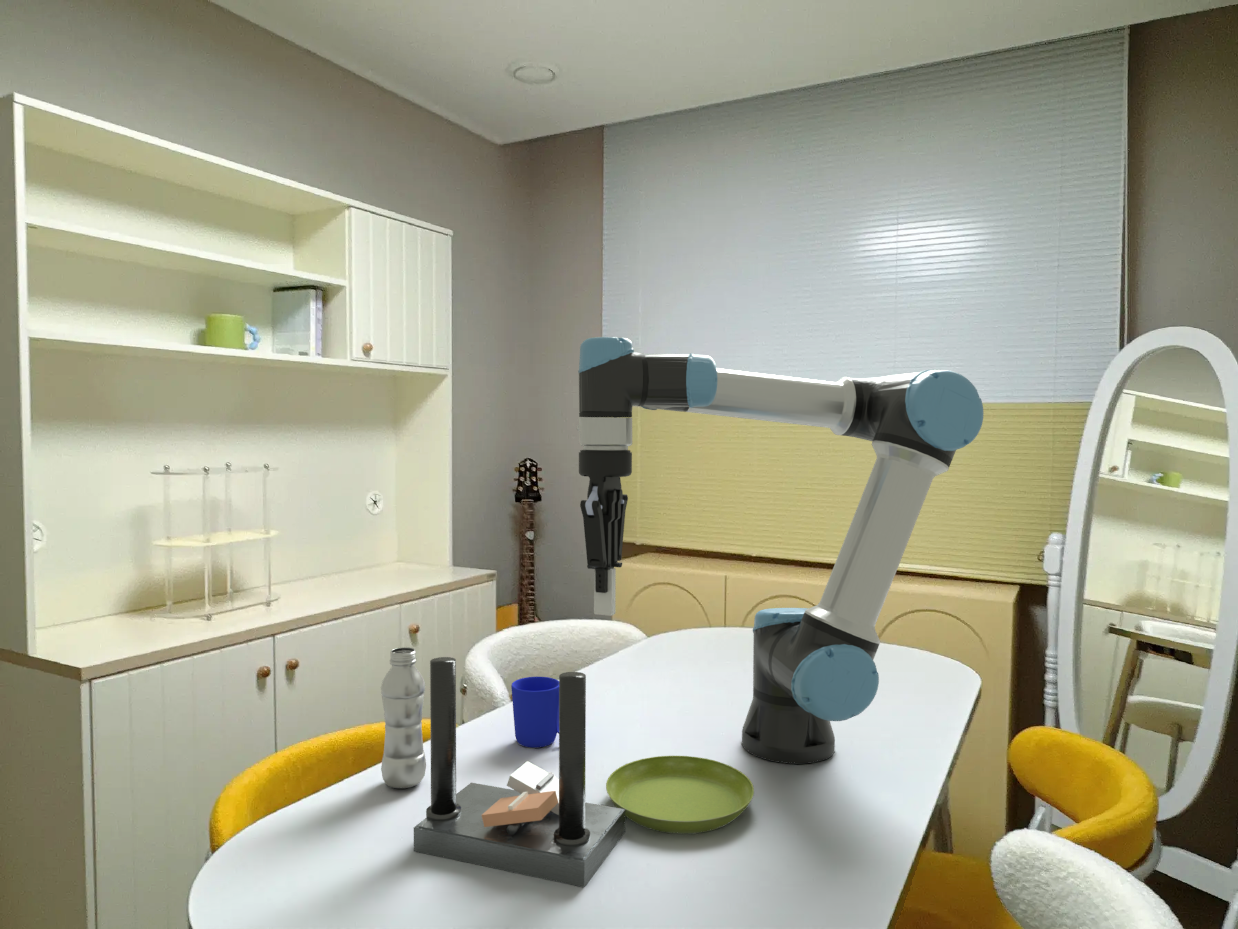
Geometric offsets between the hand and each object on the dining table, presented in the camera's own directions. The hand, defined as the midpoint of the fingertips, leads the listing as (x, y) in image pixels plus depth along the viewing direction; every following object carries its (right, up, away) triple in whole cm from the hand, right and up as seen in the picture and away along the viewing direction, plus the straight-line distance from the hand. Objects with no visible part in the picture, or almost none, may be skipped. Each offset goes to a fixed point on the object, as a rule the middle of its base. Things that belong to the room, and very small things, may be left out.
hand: (604, 613), depth 118 cm
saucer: (+11, -27, -2) cm, 29 cm away
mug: (-10, -26, +21) cm, 34 cm away
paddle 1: (-8, -21, -9) cm, 24 cm away
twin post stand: (-10, -27, -12) cm, 31 cm away
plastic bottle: (-30, -26, +5) cm, 40 cm away
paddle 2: (-10, -22, -15) cm, 28 cm away
